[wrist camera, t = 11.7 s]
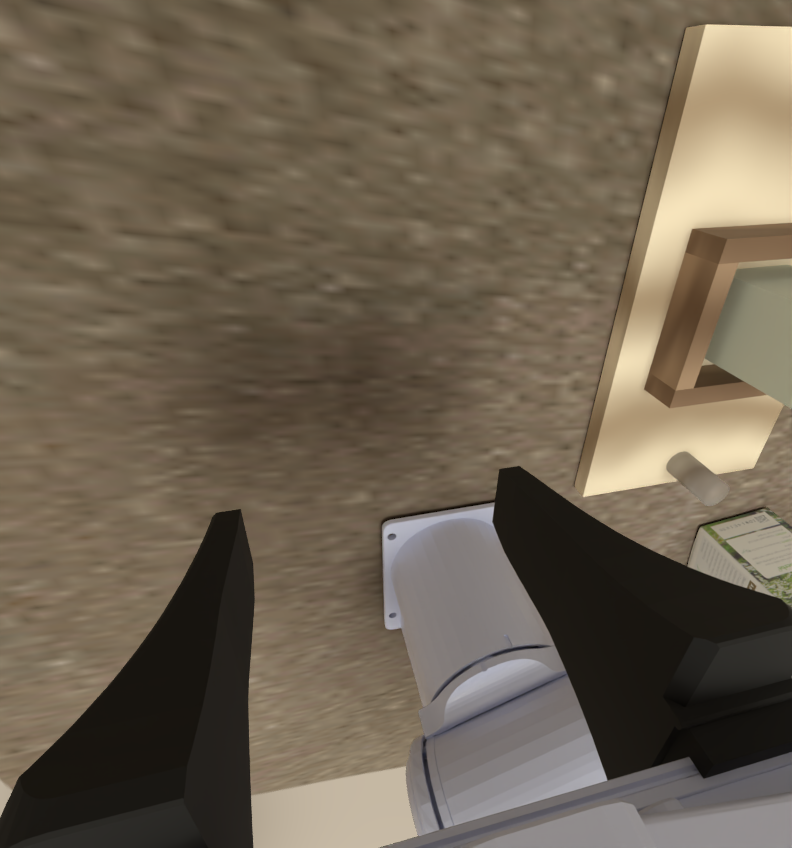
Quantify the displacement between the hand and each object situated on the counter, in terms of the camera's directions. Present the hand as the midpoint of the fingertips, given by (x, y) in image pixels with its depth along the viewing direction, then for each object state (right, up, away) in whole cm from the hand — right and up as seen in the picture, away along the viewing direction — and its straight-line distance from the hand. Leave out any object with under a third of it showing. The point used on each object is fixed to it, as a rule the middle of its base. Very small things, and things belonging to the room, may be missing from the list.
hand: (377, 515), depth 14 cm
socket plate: (+17, +9, +12) cm, 23 cm away
